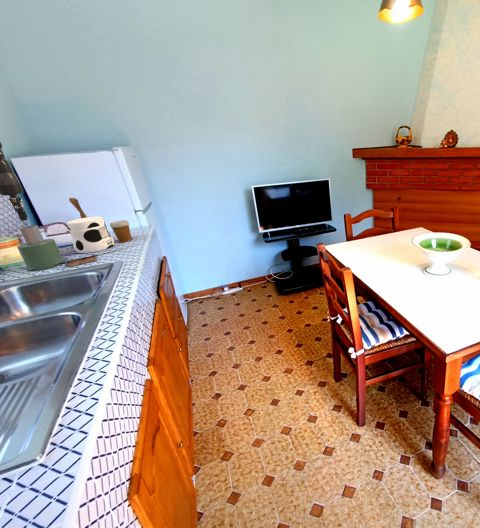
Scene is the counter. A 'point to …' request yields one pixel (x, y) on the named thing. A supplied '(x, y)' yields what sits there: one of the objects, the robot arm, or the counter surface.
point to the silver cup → (32, 235)
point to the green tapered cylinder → (41, 255)
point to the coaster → (81, 261)
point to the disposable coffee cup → (121, 230)
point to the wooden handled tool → (77, 207)
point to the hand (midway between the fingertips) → (24, 219)
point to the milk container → (90, 235)
